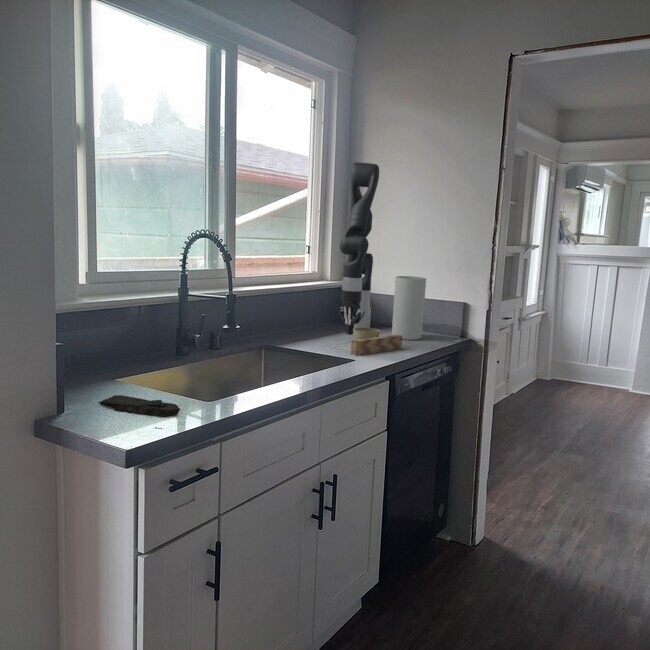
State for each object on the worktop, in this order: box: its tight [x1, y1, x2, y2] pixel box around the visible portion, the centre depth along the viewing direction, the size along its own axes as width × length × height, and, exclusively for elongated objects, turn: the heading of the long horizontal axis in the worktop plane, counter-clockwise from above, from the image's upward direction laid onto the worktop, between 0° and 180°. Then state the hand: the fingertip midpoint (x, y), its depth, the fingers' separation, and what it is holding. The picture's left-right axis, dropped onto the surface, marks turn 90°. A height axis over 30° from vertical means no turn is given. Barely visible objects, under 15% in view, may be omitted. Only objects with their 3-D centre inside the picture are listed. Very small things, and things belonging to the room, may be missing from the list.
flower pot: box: [353, 327, 381, 340], centre depth 231 cm, size 10×10×7 cm
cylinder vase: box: [391, 275, 427, 341], centre depth 257 cm, size 12×12×25 cm
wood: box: [97, 394, 181, 418], centre depth 147 cm, size 22×8×3 cm, turn 67°
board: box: [350, 334, 403, 356], centre depth 227 cm, size 24×2×5 cm, turn 131°
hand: (349, 334), depth 239 cm, fingers closed
